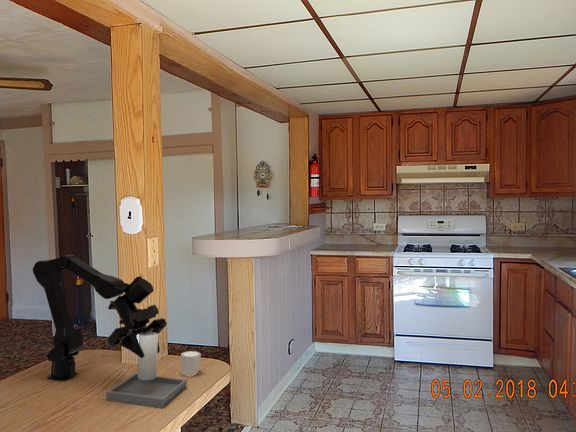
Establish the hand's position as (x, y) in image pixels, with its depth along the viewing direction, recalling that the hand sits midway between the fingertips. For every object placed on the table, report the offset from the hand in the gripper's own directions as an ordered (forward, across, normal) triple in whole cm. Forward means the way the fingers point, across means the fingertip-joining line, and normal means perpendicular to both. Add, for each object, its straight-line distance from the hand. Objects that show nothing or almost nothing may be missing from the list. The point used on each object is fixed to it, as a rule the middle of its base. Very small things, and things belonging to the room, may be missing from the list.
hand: (150, 354), depth 140 cm
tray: (+8, +1, +10) cm, 13 cm away
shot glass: (+6, +21, +12) cm, 25 cm away
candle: (+4, 0, +6) cm, 7 cm away
